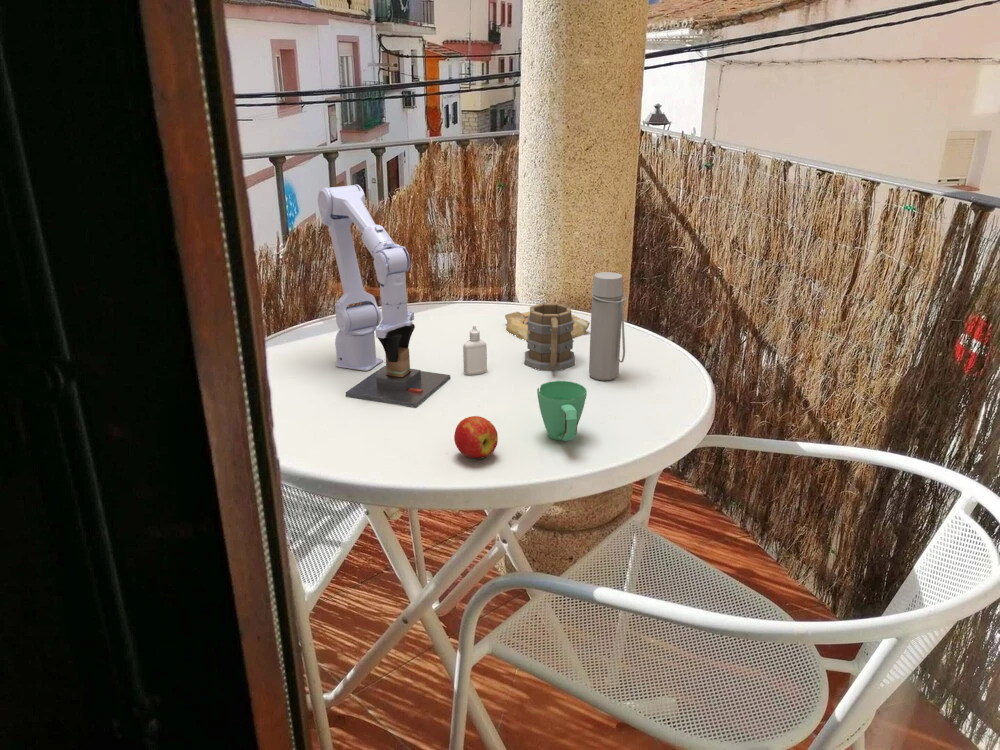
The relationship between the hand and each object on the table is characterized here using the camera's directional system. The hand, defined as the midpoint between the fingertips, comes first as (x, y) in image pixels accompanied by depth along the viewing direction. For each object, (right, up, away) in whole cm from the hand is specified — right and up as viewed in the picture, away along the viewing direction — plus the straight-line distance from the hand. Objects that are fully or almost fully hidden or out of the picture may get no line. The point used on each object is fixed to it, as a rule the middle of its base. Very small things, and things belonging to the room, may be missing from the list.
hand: (397, 358), depth 176 cm
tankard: (+36, -2, +15) cm, 39 cm away
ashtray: (+37, +9, +42) cm, 57 cm away
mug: (+36, -17, -23) cm, 46 cm away
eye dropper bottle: (+18, -3, +11) cm, 21 cm away
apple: (+19, -20, -29) cm, 40 cm away
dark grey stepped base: (0, -7, +3) cm, 7 cm away
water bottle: (+49, -5, +8) cm, 50 cm away
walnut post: (0, -4, +1) cm, 4 cm away
